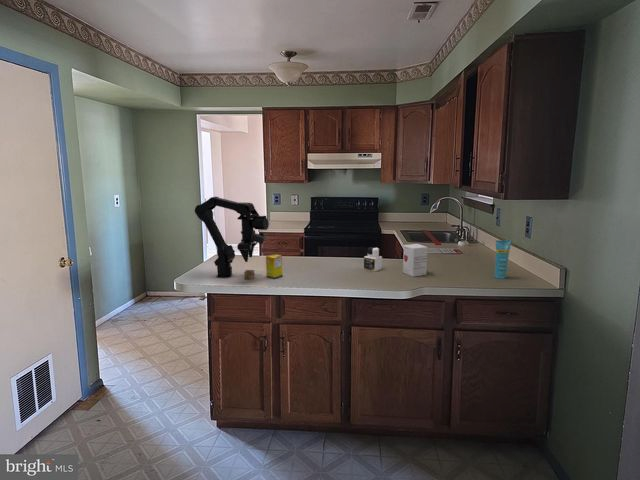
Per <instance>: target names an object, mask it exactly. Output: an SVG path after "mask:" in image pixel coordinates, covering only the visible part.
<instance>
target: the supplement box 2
mask: <svg viewBox="0 0 640 480" xmlns="http://www.w3.org/2000/svg"><path fill="white" fill-rule="evenodd" d="M428 250H429V247H428V246H425V245H423V244H419V243H413V244H404V245H403V259H402V260H403V261H402V273H403V274H406V275H408V276H410V277H412V278H413V277H419V276H426V275H427V264H428Z"/></svg>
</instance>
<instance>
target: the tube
mask: <svg viewBox="0 0 640 480" xmlns="http://www.w3.org/2000/svg"><path fill="white" fill-rule="evenodd" d="M511 244H512V240H511V239H510V240H495V268H494V270H495V271H494V277H495V278H496V279H501V280H502V279H503V280H505V279H506V277H507V269H508V261H509V255H510V250H511Z"/></svg>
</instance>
